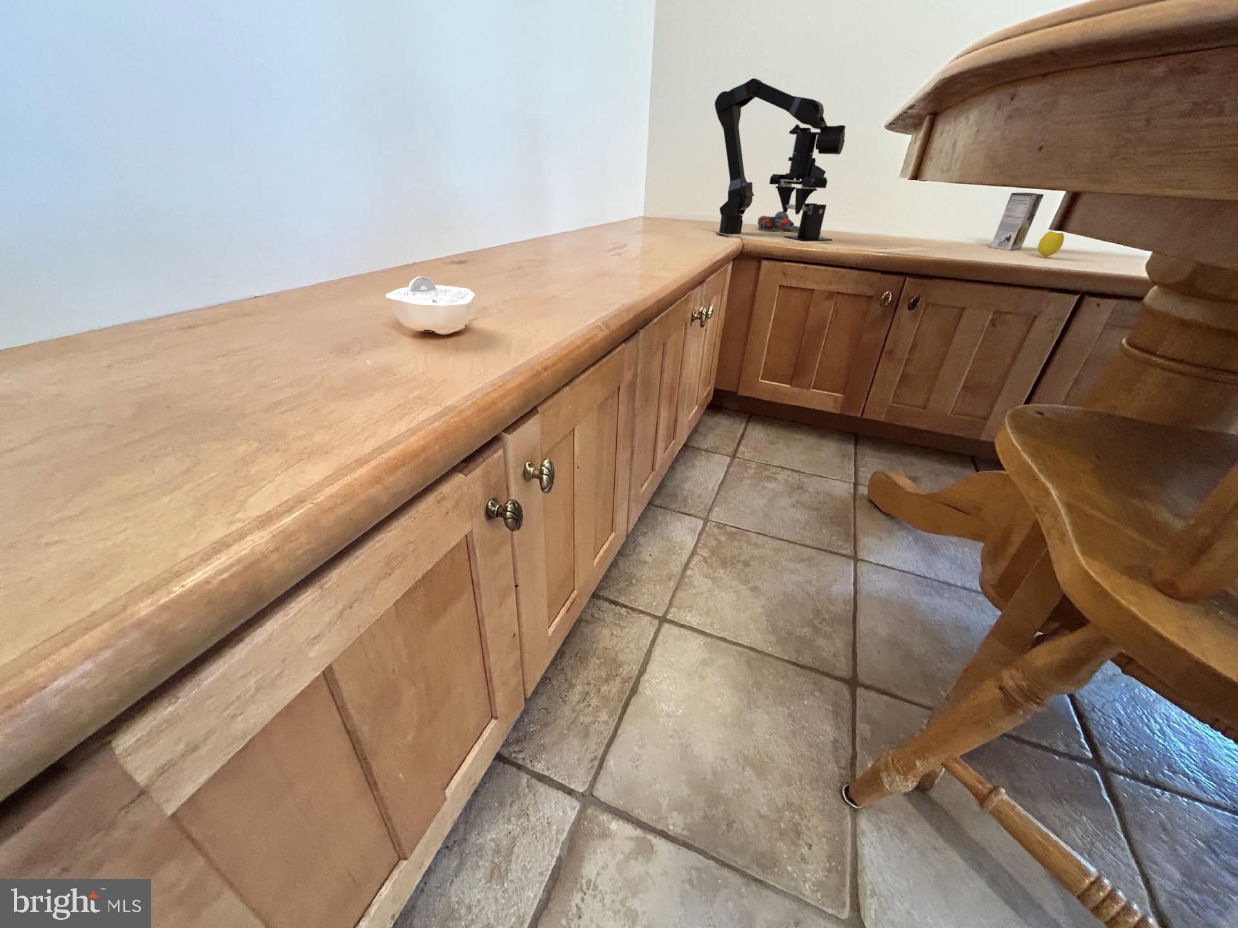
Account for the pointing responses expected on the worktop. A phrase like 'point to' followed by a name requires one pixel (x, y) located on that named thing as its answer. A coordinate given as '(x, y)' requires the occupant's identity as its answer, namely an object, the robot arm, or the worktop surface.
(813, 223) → the tap bracket
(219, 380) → the worktop surface
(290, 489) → the worktop surface
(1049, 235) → the lemon
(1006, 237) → the coffee box
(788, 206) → the tap lever
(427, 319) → the cell model
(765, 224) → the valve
